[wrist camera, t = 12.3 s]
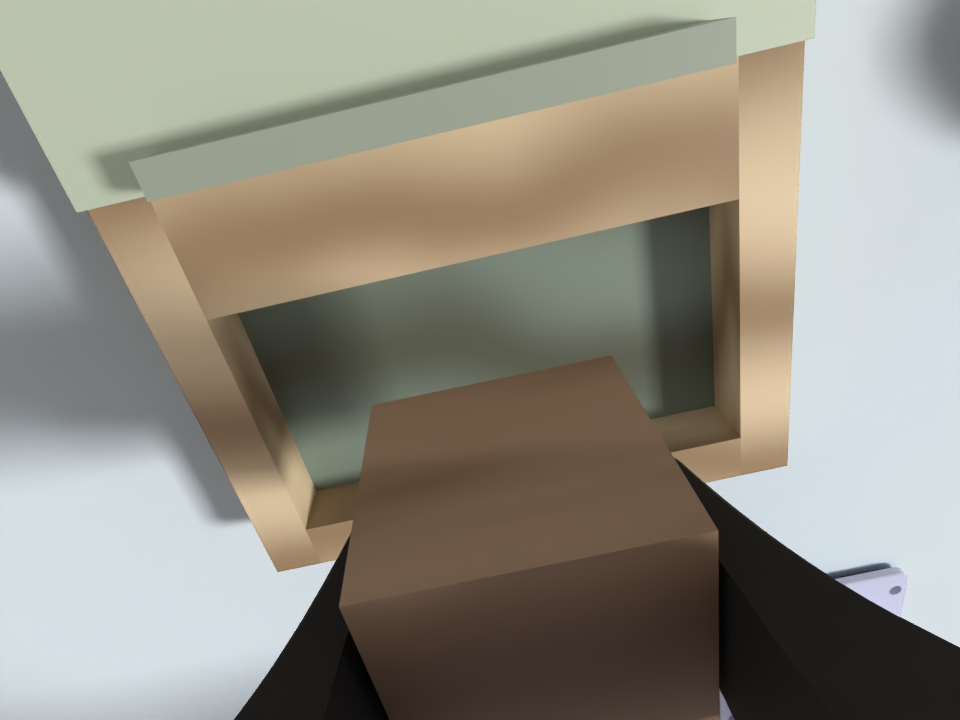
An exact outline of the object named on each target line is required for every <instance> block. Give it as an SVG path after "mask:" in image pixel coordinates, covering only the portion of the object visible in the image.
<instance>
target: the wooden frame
mask: <svg viewBox="0 0 960 720" xmlns="http://www.w3.org/2000/svg"><path fill="white" fill-rule="evenodd" d="M804 46H805V40H804V41H800V42H796V43H792V44H787V45H783V46H779V47H775V48H771V49H766V50H762V51H758V52H754V53H749V54H745V55H741V56H737V63H735V64H731V65H727V66H723V67H719V68H714V69H710V70H706V71H702V72H697V73H693V74H689V75H685V76H680V77H676V78H672V79H668V80H664V81H659V82H655V83H651V84H647V85H642V86H638V87H634V88H630V89H625V90H621V91H617V92H613V93H609V94H604V95H600V96H596V97H592V98H587V99H583V100H579V101H575V102H570V103H566V104H562V105H558V106H554V107H549V108H545V109H541V110H537V111H532V112H528V113H524V114H520V115H515V116H511V117H507V118H503V119H499V120H494V121H490V122H486V123H482V124H477V125H473V126H469V127H465V128H460V129H456V130H452V131H448V132H444V133H439V134H435V135H431V136H427V137H422V138H418V139H414V140H410V141H405V142H401V143H397V144H393V145H389V146H384V147H380V148H376V149H372V150H367V151H363V152H359V153H355V154H350V155H346V156H342V157H338V158H334V159H329V160H325V161H321V162H317V163H312V164H308V165H304V166H300V167H295V168H291V169H287V170H283V171H279V172H274V173H270V174H266V175H262V176H257V177H253V178H249V179H245V180H240V181H236V182H232V183H228V184H223V185H219V186H215V187H211V188H207V189H202V190H198V191H194V192H190V193H185V194H181V195H177V196H173V197H168V198H164V199H160V200H156V201H152V202H147V200H146V198H145V197H141V198H137V199H133V200H129V201H124V202H120V203H116V204H112V205H108V206H103V207H99V208H95V209H91V210H87V211H88V213H89V215H90V217H91V219H92V220H93V222H94V224H95V226H96V228H97V230H98V232H99V234H100V236H101V237H102V239H103V241H104V243H105V245H106V247H107V249H108V251H109V253H110V255H111V256H112V258H113V260H114V262H115V264H116V266H117V268H118V270H119V272H120V274H121V275H122V277H123V279H124V281H125V283H126V285H127V287H128V289H129V291H130V293H131V294H132V296H133V298H134V300H135V302H136V304H137V306H138V308H139V310H140V312H141V313H142V315H143V317H144V319H145V321H146V323H147V325H148V327H149V329H150V331H151V332H152V334H153V336H154V338H155V340H156V342H157V344H158V346H159V348H160V350H161V351H162V353H163V355H164V357H165V359H166V361H167V363H168V365H169V367H170V369H171V370H172V372H173V374H174V376H175V378H176V380H177V382H178V384H179V386H180V387H181V389H182V391H183V393H184V395H185V397H186V399H187V401H188V403H189V405H190V406H191V408H192V410H193V412H194V414H195V416H196V418H197V420H198V422H199V424H200V425H201V427H202V429H203V431H204V433H205V435H206V437H207V439H208V441H209V443H210V444H211V446H212V448H213V450H214V452H215V454H216V456H217V458H218V460H219V462H220V463H221V465H222V467H223V469H224V471H225V473H226V475H227V477H228V479H229V481H230V482H231V484H232V486H233V488H234V490H235V492H236V494H237V496H238V498H239V500H240V501H241V503H242V505H243V507H244V509H245V511H246V513H247V515H248V517H249V518H250V520H251V522H252V524H253V526H254V528H255V530H256V532H257V534H258V536H259V537H260V539H261V541H262V543H263V545H264V547H265V549H266V551H267V553H268V555H269V556H270V558H271V560H272V562H273V564H274V566H275V568H276V570H277V572H280V571H285V570H290V569H295V568H300V567H304V566H309V565H314V564H319V563H323V562H328V561H333V560H337V558H338V556H339V554H340V552H341V550H342V548H343V546H344V545H345V543H346V541H347V539H348V537H349V535H350V533H351V530H352V523H353V517H354V511H355V505H356V499H357V493H358V487H359V480H360V474H361V468H362V462H363V456H364V450H365V444H366V437H367V431H368V425H369V419H370V413H371V407H372V405H375V404H380V403H384V402H389V401H394V400H399V399H404V398H408V397H413V396H418V395H423V394H427V393H432V392H437V391H442V390H447V389H451V388H456V387H461V386H466V385H471V384H475V383H480V382H485V381H490V380H495V379H499V378H504V377H509V376H514V375H519V374H523V373H528V372H533V371H538V370H543V369H547V368H552V367H557V366H562V365H567V364H571V363H576V362H581V361H586V360H591V359H595V358H600V357H605V356H610V355H612V357H613V359H614V360H615V362H616V364H617V365H618V367H619V369H620V370H621V372H622V373H623V375H624V377H625V378H626V380H627V382H628V383H629V385H630V387H631V388H632V390H633V392H634V393H635V395H636V396H637V398H638V400H639V401H640V403H641V405H642V406H643V408H644V410H645V411H646V413H647V414H648V416H649V418H650V419H651V421H652V423H653V424H654V426H655V428H656V429H657V431H658V432H659V434H660V436H661V437H662V439H663V441H664V442H665V444H666V446H667V447H668V449H669V450H670V452H671V454H672V455H673V457H674V458H676V459H678V460H679V461H681V462H682V463H683V464H684V465H685V466H686V467H687V468H688V469H690V470H691V471H692V472H693V473H694V474H695V475H696V476H697V477H699V478H700V479H701V480H702V481H703V482H704V483H706V482H711V481H716V480H721V479H725V478H730V477H735V476H740V475H745V474H749V473H754V472H759V471H764V470H769V469H773V468H778V467H783V466H787V459H788V435H789V410H790V386H791V362H792V337H793V313H794V289H795V265H796V240H797V216H798V192H799V167H800V143H801V119H802V94H803V70H804Z"/></svg>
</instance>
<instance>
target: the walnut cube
mask: <svg viewBox="0 0 960 720" xmlns="http://www.w3.org/2000/svg"><path fill="white" fill-rule="evenodd" d="M339 609H340V611H341V613H342V615H343V617H344V620H345V622H346V624H347V626H348V629H349V631H350V633H351V635H352V637H353V640H354V642H355V644H356V646H357V649H358V651H359V653H360V655H361V657H362V660H363V662H364V664H365V666H366V669H367V671H368V673H369V675H370V677H371V680H372V682H373V684H374V686H375V689H376V691H377V693H378V695H379V697H380V700H381V702H382V704H383V706H384V709H385V711H386V713H387V715H388V718H389V720H719V541H718V529H717V527H716V526H715V524H714V522H713V521H712V519H711V518H710V516H709V514H708V513H707V511H706V509H705V508H704V506H703V504H702V503H701V501H700V500H699V498H698V496H697V495H696V493H695V491H694V490H693V488H692V486H691V485H690V483H689V482H688V480H687V478H686V477H685V475H684V473H683V472H682V470H681V468H680V467H679V465H678V464H677V462H676V460H675V459H674V457H673V455H672V454H671V452H670V450H669V449H668V447H667V446H666V444H665V442H664V441H663V439H662V437H661V436H660V434H659V432H658V431H657V429H656V428H655V426H654V424H653V423H652V421H651V419H650V418H649V416H648V414H647V413H646V411H645V410H644V408H643V406H642V405H641V403H640V401H639V400H638V398H637V396H636V395H635V393H634V392H633V390H632V388H631V387H630V385H629V383H628V382H627V380H626V378H625V377H624V375H623V373H622V372H621V370H620V369H619V367H618V365H617V364H616V362H615V360H614V359H613V357H612V355H610V356H605V357H600V358H595V359H591V360H586V361H581V362H576V363H571V364H567V365H562V366H557V367H552V368H547V369H543V370H538V371H533V372H528V373H523V374H519V375H514V376H509V377H504V378H499V379H495V380H490V381H485V382H480V383H475V384H471V385H466V386H461V387H456V388H451V389H447V390H442V391H437V392H432V393H427V394H423V395H418V396H413V397H408V398H404V399H399V400H394V401H389V402H384V403H380V404H375V405H372V407H371V413H370V419H369V425H368V431H367V437H366V444H365V450H364V456H363V462H362V468H361V474H360V480H359V487H358V493H357V499H356V505H355V511H354V517H353V523H352V530H351V536H350V542H349V548H348V554H347V560H346V566H345V572H344V579H343V585H342V591H341V597H340V603H339Z"/></svg>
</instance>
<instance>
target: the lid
mask: <svg viewBox="0 0 960 720" xmlns="http://www.w3.org/2000/svg"><path fill="white" fill-rule="evenodd" d="M815 15H816V0H0V71H1V73H2V75H3V76H4V78H5V80H6V82H7V84H8V86H9V88H10V89H11V91H12V93H13V95H14V97H15V99H16V101H17V102H18V104H19V106H20V108H21V110H22V112H23V114H24V116H25V117H26V119H27V121H28V123H29V125H30V127H31V129H32V130H33V132H34V134H35V136H36V138H37V140H38V142H39V144H40V145H41V147H42V149H43V151H44V153H45V155H46V157H47V158H48V160H49V162H50V164H51V166H52V168H53V170H54V171H55V173H56V175H57V177H58V179H59V181H60V183H61V185H62V186H63V188H64V190H65V192H66V194H67V196H68V198H69V199H70V201H71V203H72V205H73V207H74V209H75V211H76V213H78V212H82V211H86V210H91V209H95V208H99V207H103V206H108V205H112V204H116V203H120V202H124V201H129V200H133V199H137V198H141V197H145V198H146V200H147V202H152V201H156V200H160V199H164V198H168V197H173V196H177V195H181V194H185V193H190V192H194V191H198V190H202V189H207V188H211V187H215V186H219V185H223V184H228V183H232V182H236V181H240V180H245V179H249V178H253V177H257V176H262V175H266V174H270V173H274V172H279V171H283V170H287V169H291V168H295V167H300V166H304V165H308V164H312V163H317V162H321V161H325V160H329V159H334V158H338V157H342V156H346V155H350V154H355V153H359V152H363V151H367V150H372V149H376V148H380V147H384V146H389V145H393V144H397V143H401V142H405V141H410V140H414V139H418V138H422V137H427V136H431V135H435V134H439V133H444V132H448V131H452V130H456V129H460V128H465V127H469V126H473V125H477V124H482V123H486V122H490V121H494V120H499V119H503V118H507V117H511V116H515V115H520V114H524V113H528V112H532V111H537V110H541V109H545V108H549V107H554V106H558V105H562V104H566V103H570V102H575V101H579V100H583V99H587V98H592V97H596V96H600V95H604V94H609V93H613V92H617V91H621V90H625V89H630V88H634V87H638V86H642V85H647V84H651V83H655V82H659V81H664V80H668V79H672V78H676V77H680V76H685V75H689V74H693V73H697V72H702V71H706V70H710V69H714V68H719V67H723V66H727V65H731V64H735V63H737V56H741V55H745V54H749V53H754V52H758V51H762V50H766V49H771V48H775V47H779V46H783V45H787V44H792V43H796V42H800V41H804V40H809V39H813V38H814V36H815Z"/></svg>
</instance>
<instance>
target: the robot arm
mask: <svg viewBox="0 0 960 720" xmlns="http://www.w3.org/2000/svg"><path fill="white" fill-rule="evenodd" d="M674 459H675V460H676V462H677V464H678V465H679V467H680V468H681V470H682V472H683V473H684V475H685V477H686V478H687V480H688V482H689V483H690V485H691V486H692V488H693V490H694V491H695V493H696V495H697V496H698V498H699V500H700V501H701V503H702V504H703V506H704V508H705V509H706V511H707V513H708V514H709V516H710V518H711V519H712V521H713V522H714V524H715V526H716V527H717V529H718V541H719V689H720V717H721V720H960V647H958V646H956V645H954V644H952V643H950V642H948V641H946V640H944V639H942V638H940V637H938V636H936V635H934V634H932V633H930V632H928V631H926V630H924V629H922V628H920V627H918V626H916V625H914V624H913V623H911V622H909V621H907V620H905V619H903V618H901V613H902V608H903V602H904V597H905V591H906V586H907V581H908V577H907V575H906V574H905V573H904V572H903V571H902V570H901V569H900V568H897V567H894V568H887V569H882V570H877V571H872V572H867V573H862V574H857V575H852V576H847V577H842V578H837V579H834V578H832V577H831V576H829V575H827V574H826V573H824V572H823V571H821V570H820V569H818V568H817V567H815V566H814V565H812V564H811V563H809V562H808V561H806V560H805V559H803V558H802V557H800V556H799V555H797V554H796V553H795V552H793V551H792V550H790V549H789V548H787V547H786V546H784V545H783V544H782V543H780V542H779V541H778V540H776V539H775V538H773V537H772V536H771V535H769V534H768V533H767V532H765V531H764V530H763V529H761V528H760V527H759V526H758V525H756V524H755V523H754V522H752V521H751V520H750V519H748V518H747V517H746V516H745V515H743V514H742V513H741V512H739V511H738V510H737V509H736V508H734V507H733V506H732V505H731V504H729V503H728V502H727V501H726V500H724V499H723V498H722V497H721V496H720V495H719V494H717V493H716V492H715V491H714V490H713V489H711V488H710V487H709V486H708V485H707V484H706V483H704V482H703V481H702V480H701V479H700V478H699V477H697V476H696V475H695V474H694V473H693V472H692V471H691V470H690V469H688V468H687V467H686V466H685V465H684V464H683V463H682V462H681V461H679V460H678V459H676V458H674ZM350 536H351V533H350V535H349V537H348V539H347V541H346V543H345V545H344V546H343V548H342V550H341V552H340V554H339V556H338V558H337V560H336V561H335V563H334V565H333V567H332V569H331V571H330V572H329V574H328V576H327V578H326V580H325V581H324V583H323V585H322V587H321V589H320V590H319V592H318V594H317V595H316V597H315V599H314V601H313V602H312V604H311V606H310V607H309V609H308V611H307V613H306V614H305V616H304V618H303V619H302V621H301V623H300V624H299V626H298V628H297V629H296V631H295V632H294V634H293V635H292V637H291V638H290V640H289V642H288V643H287V645H286V646H285V648H284V649H283V651H282V652H281V654H280V656H279V657H278V659H277V660H276V662H275V663H274V665H273V666H272V668H271V669H270V671H269V672H268V674H267V675H266V677H265V678H264V679H263V681H262V682H261V684H260V685H259V687H258V688H257V689H256V691H255V692H254V693H253V695H252V696H251V698H250V699H249V700H248V702H247V703H246V704H245V706H244V707H243V708H242V710H241V711H240V712H239V714H238V715H237V716H236V718H235V719H234V720H389V718H388V715H387V713H386V711H385V709H384V706H383V704H382V702H381V700H380V697H379V695H378V693H377V691H376V689H375V686H374V684H373V682H372V680H371V677H370V675H369V673H368V671H367V669H366V666H365V664H364V662H363V660H362V657H361V655H360V653H359V651H358V649H357V646H356V644H355V642H354V640H353V637H352V635H351V633H350V631H349V629H348V626H347V624H346V622H345V620H344V617H343V615H342V613H341V611H340V609H339V603H340V597H341V591H342V585H343V579H344V572H345V566H346V560H347V554H348V548H349V542H350Z"/></svg>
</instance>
